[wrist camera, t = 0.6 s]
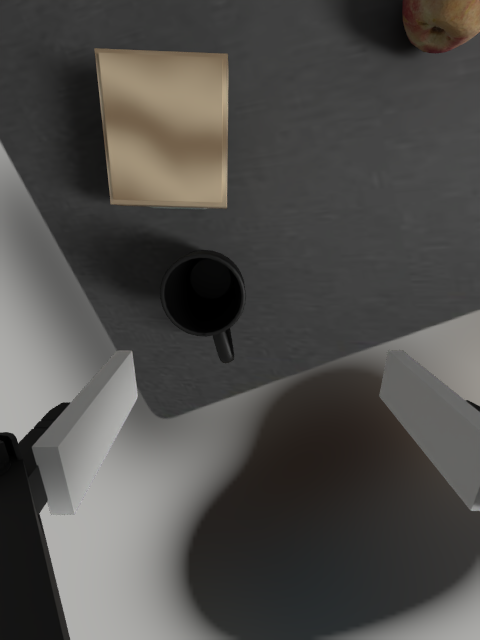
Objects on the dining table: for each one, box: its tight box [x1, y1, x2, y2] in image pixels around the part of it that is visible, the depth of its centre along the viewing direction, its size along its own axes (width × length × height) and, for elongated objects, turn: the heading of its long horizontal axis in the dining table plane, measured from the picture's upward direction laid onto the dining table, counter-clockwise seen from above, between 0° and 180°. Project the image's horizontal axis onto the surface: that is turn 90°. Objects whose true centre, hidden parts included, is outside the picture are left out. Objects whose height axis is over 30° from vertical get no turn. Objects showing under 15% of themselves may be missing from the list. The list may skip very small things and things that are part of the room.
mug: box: [160, 250, 246, 363], centre depth 33 cm, size 8×12×10 cm
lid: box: [95, 48, 228, 209], centre depth 28 cm, size 12×11×3 cm
